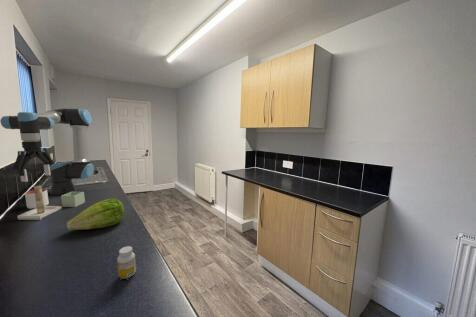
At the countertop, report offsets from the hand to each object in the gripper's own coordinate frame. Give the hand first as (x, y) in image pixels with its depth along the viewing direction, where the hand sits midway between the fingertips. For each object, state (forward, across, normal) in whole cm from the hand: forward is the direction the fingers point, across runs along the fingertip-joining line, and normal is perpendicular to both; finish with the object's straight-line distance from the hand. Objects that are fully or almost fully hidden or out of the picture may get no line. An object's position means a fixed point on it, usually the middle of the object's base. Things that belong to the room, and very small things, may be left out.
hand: (36, 178), depth 114 cm
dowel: (+21, +1, 0) cm, 21 cm away
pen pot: (+22, -13, +8) cm, 27 cm away
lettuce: (+22, +15, +42) cm, 50 cm away
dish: (+22, +1, 0) cm, 22 cm away
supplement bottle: (+21, +50, +75) cm, 92 cm away
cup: (+22, -11, -13) cm, 28 cm away
